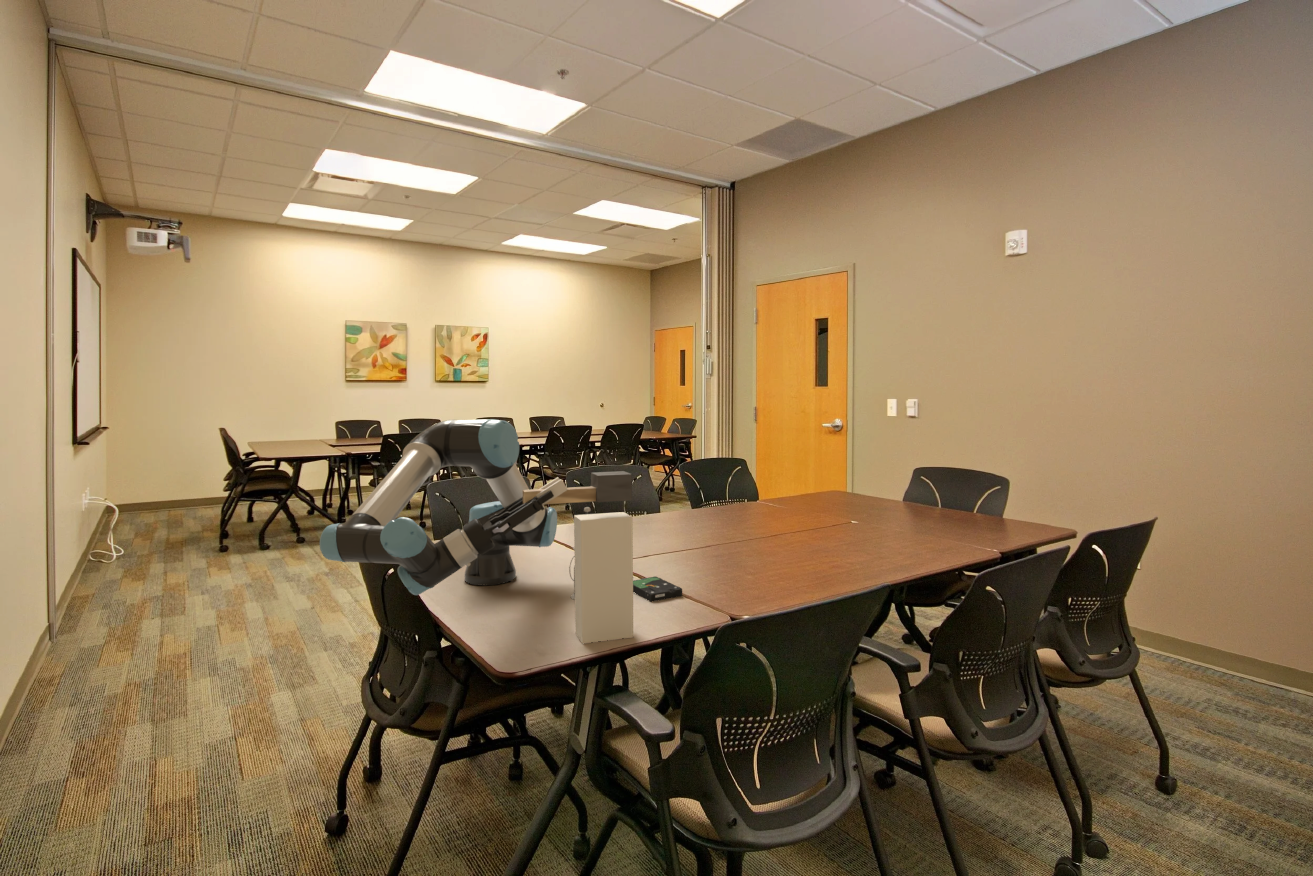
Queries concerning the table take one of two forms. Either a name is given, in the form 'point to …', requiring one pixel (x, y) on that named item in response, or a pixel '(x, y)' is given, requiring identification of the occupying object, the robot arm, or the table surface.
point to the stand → (603, 576)
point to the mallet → (593, 489)
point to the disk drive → (656, 589)
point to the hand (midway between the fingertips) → (562, 483)
